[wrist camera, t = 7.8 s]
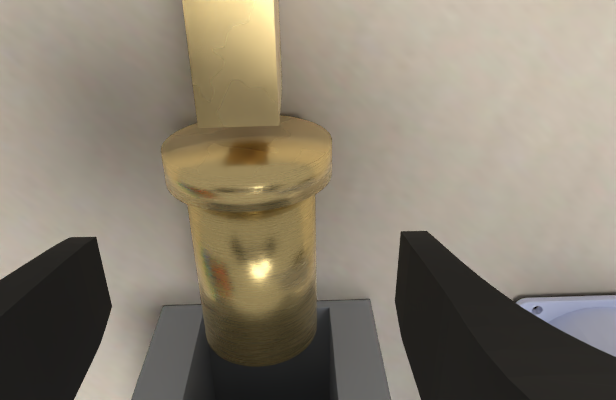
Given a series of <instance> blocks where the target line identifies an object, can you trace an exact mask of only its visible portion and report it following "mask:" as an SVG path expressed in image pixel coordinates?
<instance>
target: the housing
mask: <svg viewBox="0 0 616 400" xmlns="http://www.w3.org/2000/svg"><path fill="white" fill-rule="evenodd" d="M131 400H391V398H390V393H389V388H388V383H387V378H386V374H385V369H384V364H383V359H382V354H381V350H380V345H379V340H378V335H377V330H376V325H375V321H374V316H373V311H372V306H371V301H370V299H369V300H337V301H317V330H316V334H315V336H314V338H313V340H312V342H311V343H310V344H309V346H308V347H307V348H306V349H305V350H303V351H302V352H301V353H300V354H298V355H297V356H295V357H293V358H291V359H289V360H287V361H284V362H282V363H278V364H275V365H269V366H261V367H250V366H242V365H238V364H234V363H231V362H229V361H227V360H225V359H223V358H221V357H220V356H218V355H217V354H216V353H215V352H214V351H213V350H212V349H211V347H210V346H209V344H208V341H207V338H206V331H205V324H204V317H203V310H202V305H178V306H163V308H162V311H161V314H160V317H159V320H158V323H157V326H156V329H155V332H154V335H153V337H152V340H151V343H150V346H149V349H148V352H147V355H146V358H145V361H144V364H143V367H142V370H141V373H140V375H139V378H138V381H137V384H136V387H135V390H134V393H133V396H132V399H131Z"/></svg>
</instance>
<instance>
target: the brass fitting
mask: <svg viewBox="0 0 616 400" xmlns="http://www.w3.org/2000/svg"><path fill="white" fill-rule="evenodd" d="M182 3H183V11H184V19H185V27H186V36H187V44H188V52H189V60H190V68H191V76H192V84H193V92H194V101H195V109H196V117H197V123H196V124H193V125H190V126H187V127H185V128H183V129H181V130H179V131H177V132H175V133H174V134H172V135H171V136H169V137H168V138H167V139H166V140H165V141H164V143H163V145H162V147H161V155H162V161H163V167H164V174H165V180H166V185H167V189H168V190H169V192H170V193H171V194H172V195H173V196H174V197H175V198H177V199H178V200H180V201H181V202H183V203H186V204H187V206H188V213H189V220H190V227H191V234H192V240H193V247H194V254H195V261H196V268H197V275H198V282H199V289H200V296H201V303H202V310H203V317H204V324H205V331H206V338H207V341H208V344H209V346H210V347H211V349H212V350H213V351H214V352H215V353H216V354H217V355H218V356H220V357H221V358H223V359H225V360H227V361H229V362H231V363H234V364H238V365H242V366H250V367H261V366H269V365H275V364H278V363H282V362H284V361H287V360H289V359H291V358H293V357H295V356H297V355H298V354H300V353H301V352H302V351H303V350H305V349H306V348H307V347H308V346H309V344H310V343H311V342H312V340H313V338H314V336H315V334H316V330H317V295H316V223H315V194H317V193H318V192H319V191H321V190H322V189H323V188H324V187H325V186H326V185H327V184H328V182H329V181H330V179H331V176H332V138H331V136H330V134H329V133H328V131H327V130H325V129H324V128H323V127H321V126H319V125H317V124H315V123H313V122H310V121H307V120H304V119H300V118H295V117H290V116H282V115H280V108H281V93H282V74H281V50H280V26H279V3H278V0H182Z"/></svg>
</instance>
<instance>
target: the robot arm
mask: <svg viewBox="0 0 616 400" xmlns="http://www.w3.org/2000/svg"><path fill="white" fill-rule="evenodd" d="M395 304H396V310H397V316H398V321H399V327H400V332H401V337H402V341H403V344H404V347H405V350H406V353H407V357H408V360H409V363H410V366H411V369H412V372H413V375H414V379H415V382H416V385H417V388H418V391H419V394H420V397H421V400H616V295H602V296H570V297H538V298H522V299H520V300H518V301H517V302H516V303H515V302H513V301H512V300H511V299H509V298H508V297H506V296H505V295H504V294H502V293H501V292H500V291H498V290H497V289H495V288H494V287H493V286H491V285H490V284H489V283H487V282H486V281H485V280H483V279H482V278H481V277H480V276H478V275H477V274H476V273H475V272H473V271H472V270H471V269H470V268H469V267H467V266H466V265H465V264H464V263H463V262H462V261H460V260H459V259H458V258H457V257H456V256H455V255H453V254H452V253H451V252H450V251H449V250H448V249H447V248H446V247H444V246H443V245H442V244H441V243H440V242H439V241H438V240H437V239H435V238H434V237H433V236H432V235H431V234H430V233H428V232H427V231H403V232H401V237H400V248H399V260H398V272H397V283H396V295H395ZM536 306H538V307H537V308H536V309H533V308H534V307H536ZM111 308H112V305H111V300H110V296H109V291H108V287H107V283H106V278H105V274H104V270H103V265H102V261H101V256H100V252H99V248H98V243H97V239H96V237H70V238H68V239H66V240H64V241H62V242H60V243H59V244H57V245H55V246H53V247H52V248H50V249H49V250H47V251H45V252H44V253H42V254H41V255H39V256H37V257H36V258H34V259H33V260H31V261H30V262H28V263H26V264H25V265H23V266H22V267H20V268H18V269H17V270H15V271H14V272H12V273H11V274H9V275H7V276H6V277H4V278H3V279H1V280H0V400H74V398H75V396H76V394H77V392H78V390H79V388H80V386H81V384H82V382H83V380H84V377H85V375H86V373H87V371H88V369H89V367H90V365H91V363H92V361H93V359H94V356H95V354H96V352H97V350H98V348H99V346H100V343H101V340H102V337H103V334H104V331H105V328H106V325H107V321H108V318H109V315H110V311H111Z"/></svg>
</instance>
